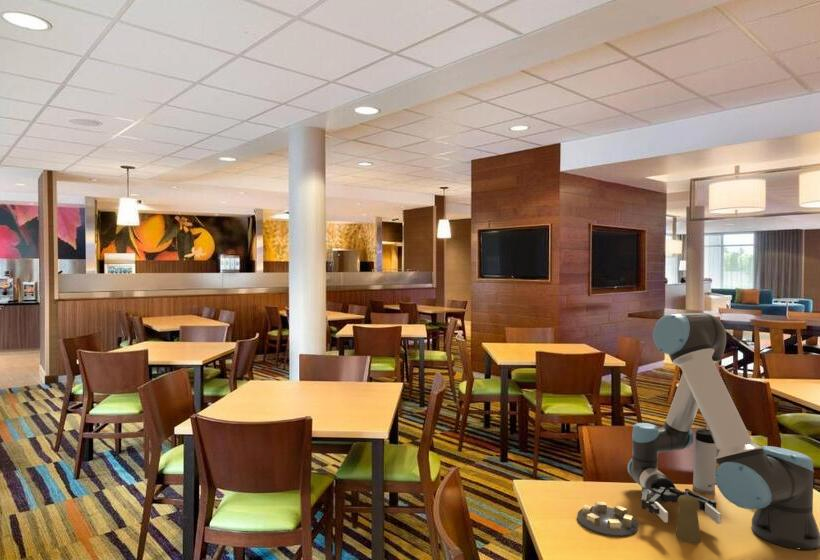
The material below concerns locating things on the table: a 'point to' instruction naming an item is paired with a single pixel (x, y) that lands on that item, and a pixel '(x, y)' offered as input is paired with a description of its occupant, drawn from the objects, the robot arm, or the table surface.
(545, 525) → the table surface
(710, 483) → the travel mug
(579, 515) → the ring holder
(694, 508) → the cork
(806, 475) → the robot arm
